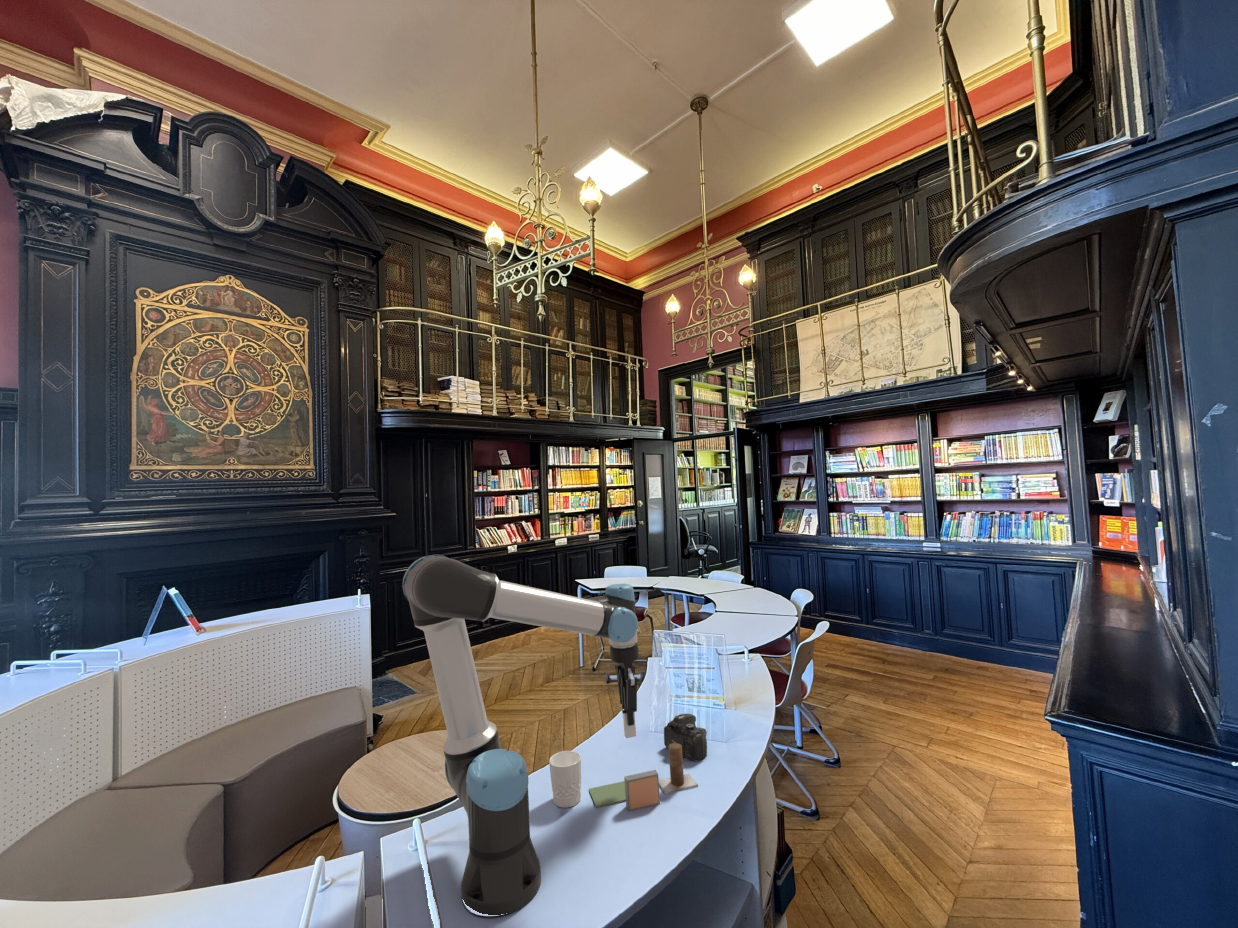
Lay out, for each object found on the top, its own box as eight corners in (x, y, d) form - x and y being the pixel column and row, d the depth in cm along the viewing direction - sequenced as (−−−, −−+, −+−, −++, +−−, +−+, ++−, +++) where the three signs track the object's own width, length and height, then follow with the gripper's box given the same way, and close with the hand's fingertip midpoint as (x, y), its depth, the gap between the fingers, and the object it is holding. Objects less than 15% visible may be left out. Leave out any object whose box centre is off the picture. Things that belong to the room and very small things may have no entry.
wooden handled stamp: (665, 794, 126) (662, 754, 127) (657, 782, 132) (655, 744, 132) (698, 786, 129) (695, 747, 130) (689, 775, 134) (686, 738, 135)
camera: (714, 748, 148) (711, 713, 148) (700, 764, 139) (697, 727, 140) (673, 739, 155) (671, 705, 156) (657, 753, 147) (655, 718, 147)
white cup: (589, 797, 127) (587, 756, 127) (565, 813, 121) (563, 769, 122) (568, 787, 132) (566, 747, 133) (544, 801, 126) (542, 760, 127)
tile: (628, 811, 120) (626, 780, 121) (626, 806, 122) (624, 776, 123) (660, 803, 123) (658, 773, 123) (657, 799, 125) (655, 769, 125)
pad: (596, 807, 122) (595, 806, 122) (589, 790, 130) (588, 788, 130) (635, 798, 125) (635, 797, 125) (626, 781, 133) (626, 780, 133)
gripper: (645, 648, 129) (652, 744, 127) (630, 635, 141) (636, 722, 140) (616, 652, 127) (623, 750, 125) (604, 639, 139) (610, 728, 138)
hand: (630, 735), depth 132 cm, fingers closed
